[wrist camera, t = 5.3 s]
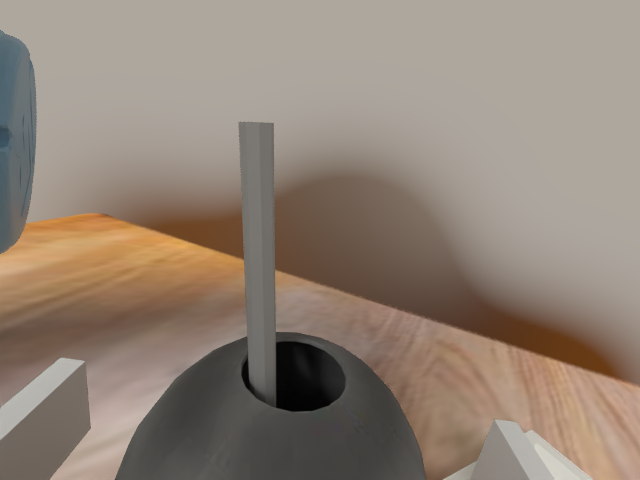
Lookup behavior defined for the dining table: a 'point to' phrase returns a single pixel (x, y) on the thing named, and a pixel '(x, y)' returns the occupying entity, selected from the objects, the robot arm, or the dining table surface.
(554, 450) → the tray
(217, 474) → the beverage cup
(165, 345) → the dining table surface
